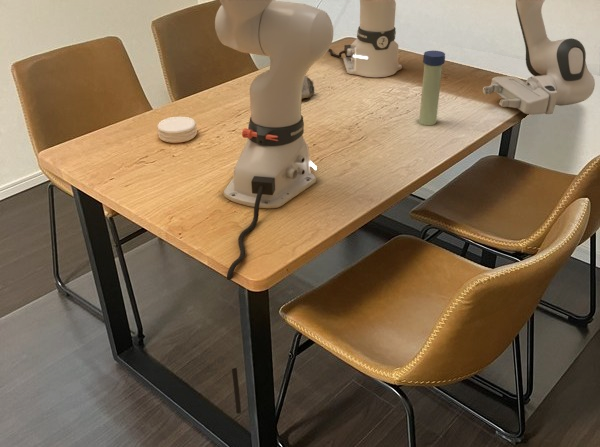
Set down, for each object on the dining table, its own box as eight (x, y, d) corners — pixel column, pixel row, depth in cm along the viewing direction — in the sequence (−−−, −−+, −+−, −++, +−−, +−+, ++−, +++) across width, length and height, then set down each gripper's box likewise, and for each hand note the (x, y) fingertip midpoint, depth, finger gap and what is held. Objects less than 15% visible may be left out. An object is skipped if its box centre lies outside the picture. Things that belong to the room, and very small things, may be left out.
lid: (432, 57, 163) (433, 49, 162) (448, 62, 160) (449, 54, 158) (418, 62, 160) (419, 53, 159) (434, 67, 157) (435, 58, 156)
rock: (319, 95, 186) (318, 72, 182) (294, 104, 180) (293, 80, 176) (285, 84, 195) (284, 62, 192) (261, 93, 189) (259, 70, 186)
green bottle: (427, 117, 172) (433, 51, 162) (439, 122, 168) (447, 55, 159) (415, 121, 169) (421, 55, 159) (428, 126, 166) (435, 59, 156)
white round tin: (160, 128, 167) (158, 116, 165) (197, 126, 168) (196, 114, 166) (157, 144, 158) (155, 132, 157) (196, 142, 159) (195, 129, 157)
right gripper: (519, 69, 179) (476, 73, 177) (560, 94, 163) (513, 99, 160) (516, 90, 183) (473, 94, 180) (555, 116, 166) (508, 121, 163)
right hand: (492, 96), depth 170 cm, fingers open, 8 cm apart
